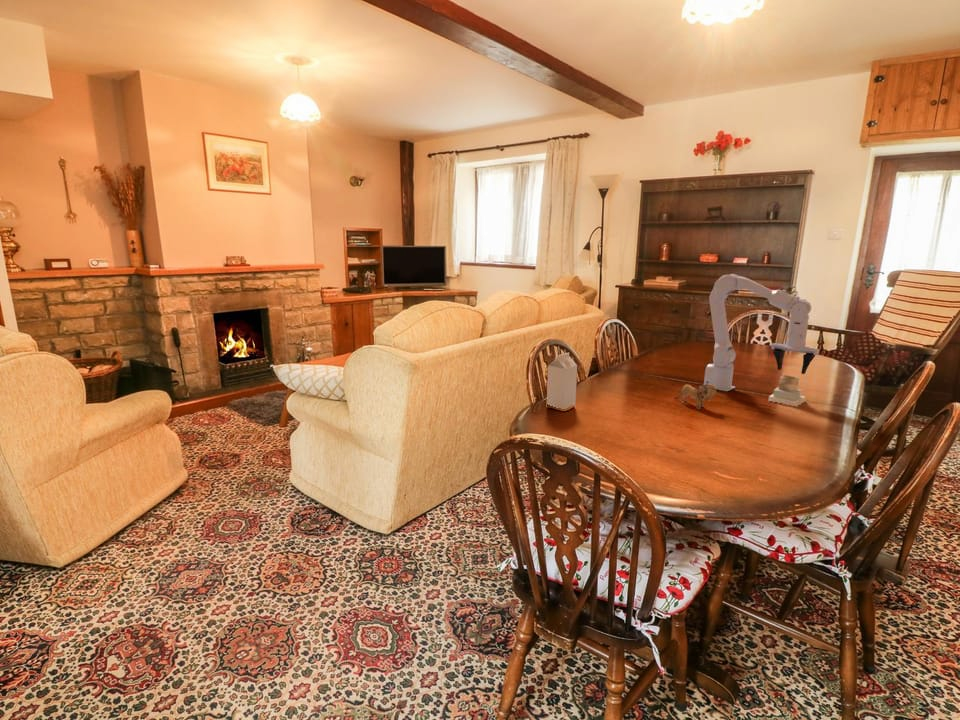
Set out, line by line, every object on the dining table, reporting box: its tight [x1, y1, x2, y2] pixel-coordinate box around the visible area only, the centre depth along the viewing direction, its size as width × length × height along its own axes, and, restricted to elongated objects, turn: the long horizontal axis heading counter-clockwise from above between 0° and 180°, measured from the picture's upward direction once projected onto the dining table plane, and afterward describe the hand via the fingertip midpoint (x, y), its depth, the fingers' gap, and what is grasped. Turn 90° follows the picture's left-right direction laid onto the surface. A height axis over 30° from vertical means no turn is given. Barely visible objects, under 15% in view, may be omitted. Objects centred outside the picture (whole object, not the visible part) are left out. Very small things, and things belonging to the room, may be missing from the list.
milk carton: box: [546, 352, 578, 409], centre depth 167 cm, size 7×7×19 cm
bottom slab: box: [768, 393, 806, 408], centre depth 178 cm, size 9×9×2 cm
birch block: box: [778, 374, 800, 392], centre depth 176 cm, size 4×4×4 cm
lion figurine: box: [674, 384, 717, 410], centre depth 172 cm, size 15×5×9 cm, turn 34°
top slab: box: [772, 386, 802, 401], centre depth 177 cm, size 7×7×2 cm
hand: (791, 371), depth 178 cm, fingers open, 7 cm apart
